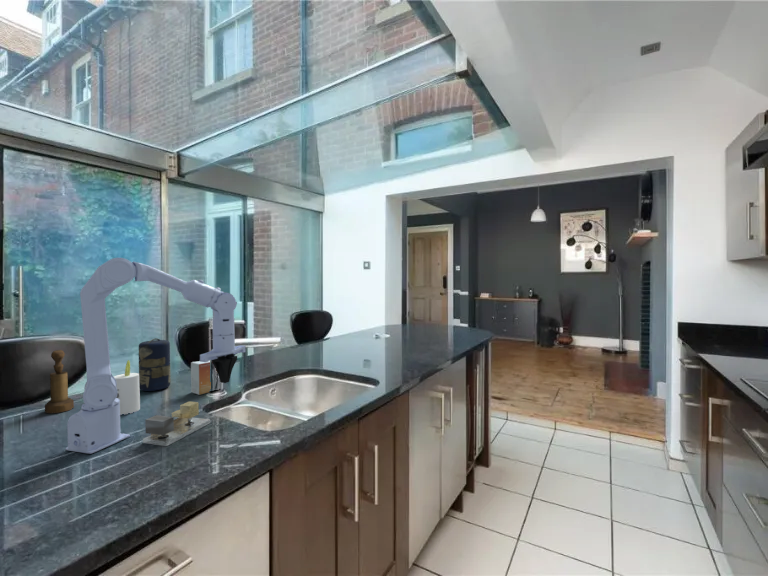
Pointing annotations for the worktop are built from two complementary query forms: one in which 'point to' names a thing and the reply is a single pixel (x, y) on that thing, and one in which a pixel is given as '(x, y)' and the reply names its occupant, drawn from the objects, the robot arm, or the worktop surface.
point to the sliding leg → (187, 411)
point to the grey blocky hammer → (162, 424)
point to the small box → (200, 377)
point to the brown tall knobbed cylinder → (58, 387)
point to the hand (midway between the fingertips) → (224, 382)
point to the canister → (154, 365)
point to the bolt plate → (177, 432)
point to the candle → (128, 391)
